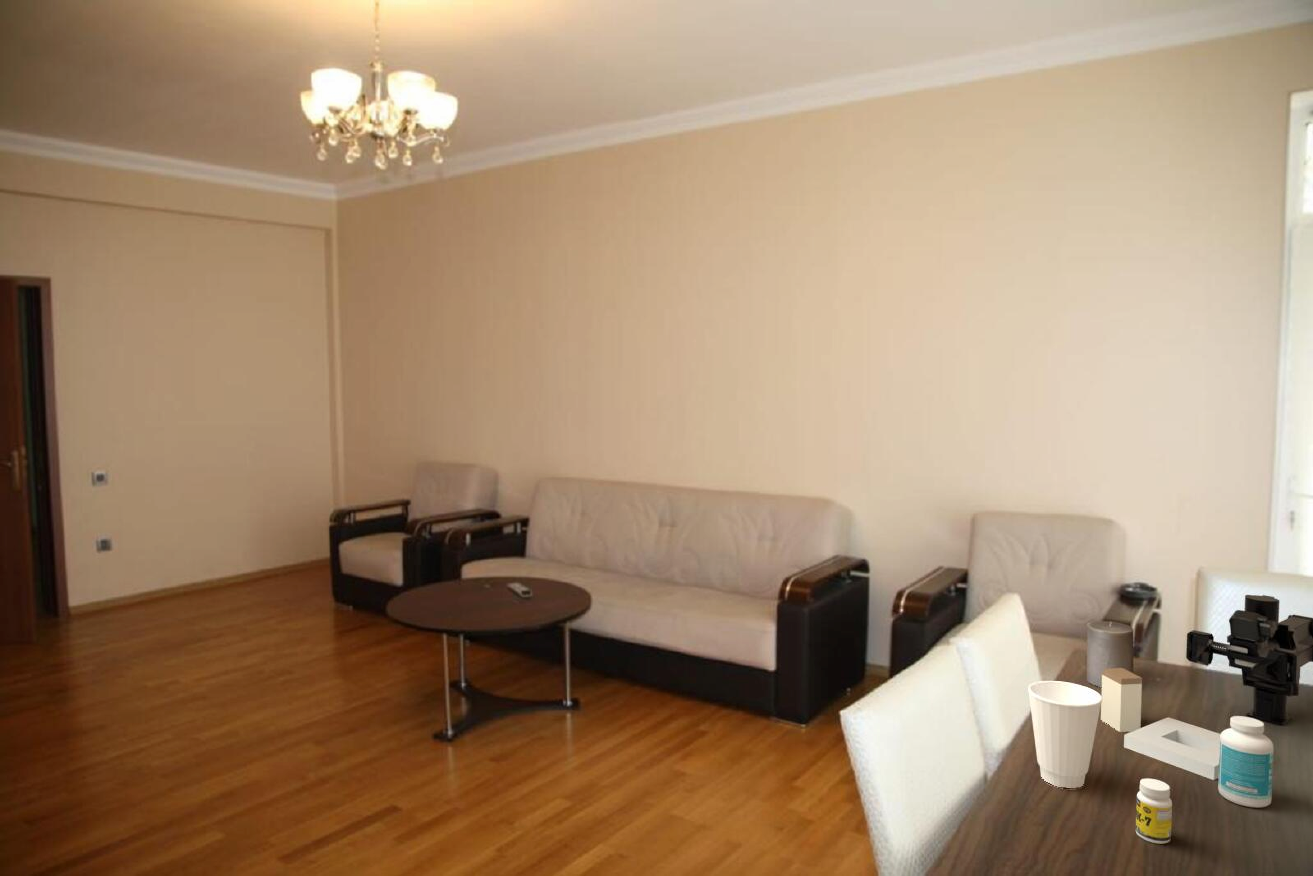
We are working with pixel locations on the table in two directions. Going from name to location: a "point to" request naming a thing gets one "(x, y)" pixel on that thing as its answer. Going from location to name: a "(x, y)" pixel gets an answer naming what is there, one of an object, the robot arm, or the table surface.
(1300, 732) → the table surface
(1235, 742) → the pill bottle
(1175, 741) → the socket plate
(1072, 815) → the table surface
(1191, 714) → the table surface
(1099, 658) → the pillar candle
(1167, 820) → the supplement bottle
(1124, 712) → the tan topped cream pillar
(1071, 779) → the cup
